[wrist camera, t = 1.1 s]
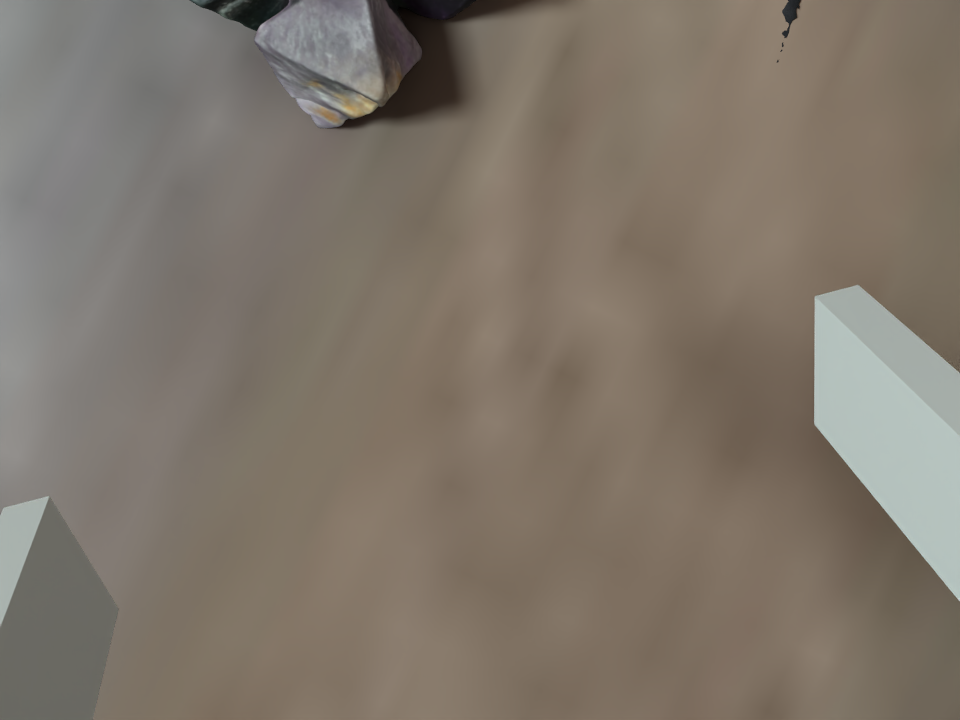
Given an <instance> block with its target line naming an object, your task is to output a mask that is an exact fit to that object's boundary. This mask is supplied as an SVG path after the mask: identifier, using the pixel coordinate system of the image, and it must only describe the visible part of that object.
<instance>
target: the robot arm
mask: <svg viewBox="0 0 960 720" xmlns="http://www.w3.org/2000/svg"><path fill="white" fill-rule="evenodd" d="M814 424H815V426H816V427H817V428H818V429H819V430H820V432H821V433H822V434H823V435H824V437H825V438H826V439H827V440H828V441H829V443H830V444H831V445H832V446H833V448H834V449H835V450H836V451H837V452H838V454H839V455H840V456H841V457H842V459H843V460H844V461H845V462H846V463H847V465H848V466H849V467H850V468H851V469H852V471H853V472H854V473H855V474H856V476H857V477H858V478H859V479H860V480H861V482H862V483H863V484H864V485H865V487H866V488H867V489H868V490H869V491H870V493H871V494H872V495H873V496H874V498H875V499H876V500H877V501H878V502H879V504H880V505H881V506H882V507H883V508H884V510H885V511H886V512H887V513H888V515H889V516H890V517H891V518H892V519H893V521H894V522H895V523H896V524H897V526H898V527H899V528H900V529H901V530H902V532H903V533H904V534H905V535H906V536H907V538H908V539H909V540H910V541H911V543H912V544H913V545H914V546H915V547H916V549H917V550H918V551H919V552H920V554H921V555H922V556H923V557H924V558H925V560H926V561H927V562H928V563H929V565H930V566H931V567H932V568H933V569H934V571H935V572H936V573H937V574H938V575H939V577H940V578H941V579H942V580H943V582H944V583H945V584H946V585H947V586H948V588H949V589H950V590H951V591H952V593H953V594H954V595H955V596H956V597H957V599H958V600H959V601H960V373H959V372H958V371H957V370H956V369H954V368H953V367H952V366H951V365H950V364H949V363H948V362H946V361H945V360H944V359H943V358H942V357H941V356H939V355H938V354H937V353H936V352H935V351H934V350H933V349H931V348H930V347H929V346H928V345H927V344H926V343H925V342H923V341H922V340H921V339H920V338H919V337H918V336H916V335H915V334H914V333H913V332H912V331H911V330H910V329H908V328H907V327H906V326H905V325H904V324H903V323H901V322H900V321H899V320H898V319H897V318H896V317H895V316H893V315H892V314H891V313H890V312H889V311H888V310H886V309H885V308H884V307H883V306H882V305H881V304H880V303H878V302H877V301H876V300H875V299H874V298H873V297H872V296H870V295H869V294H868V293H867V292H866V291H865V290H863V289H862V288H861V287H860V286H859V285H856V286H852V287H849V288H845V289H841V290H837V291H833V292H829V293H826V294H822V295H818V296H815V383H814ZM118 610H119V608H118V607H117V605H116V604H115V602H114V600H113V599H112V597H111V595H110V594H109V592H108V591H107V589H106V587H105V586H104V584H103V582H102V581H101V579H100V577H99V576H98V574H97V573H96V571H95V569H94V568H93V566H92V564H91V563H90V561H89V560H88V558H87V556H86V555H85V553H84V551H83V550H82V548H81V546H80V545H79V543H78V542H77V540H76V538H75V537H74V535H73V533H72V532H71V530H70V529H69V527H68V525H67V524H66V522H65V520H64V519H63V517H62V515H61V514H60V512H59V511H58V509H57V507H56V506H55V504H54V502H53V501H52V499H51V498H50V496H48V497H44V498H40V499H36V500H32V501H28V502H25V503H21V504H17V505H13V506H9V507H5V508H3V511H2V513H1V515H0V720H93V716H94V712H95V707H96V703H97V699H98V695H99V690H100V686H101V682H102V678H103V673H104V669H105V665H106V661H107V656H108V652H109V648H110V644H111V639H112V635H113V631H114V627H115V623H116V618H117V614H118Z"/></svg>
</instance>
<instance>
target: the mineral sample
mask: <svg viewBox="0 0 960 720" xmlns="http://www.w3.org/2000/svg"><path fill="white" fill-rule="evenodd" d="M190 1H192V2H193V3H195V4H196V5H198V6H200V7H202V8H206V9H209V10H212V11H214V12H216V13H218V14H220V15H221V16H223V17H224V18H227V19H230V20H234V21H237V22H240V23H242V24H243V25H244V26H246V27H248V28H251V29H253V30H255V31H257V33H256V35H255V37H254V41H255V43H256V45H257V46H258V48H259V49H260V51H261V52H262V53H263V55H264V56H265V58H266V60H267V61H268V63H269V65H270V66H271V68H272V69H273V70H274V73H275V75H276V76H277V78H278V80H279V82H280V83H281V85H282V86H283V87H284V88H285V89H286V90H287V92H288V93H289V94H290V95H291V96H292V97H293V98H295V99H296V101H297V103H298V105H299V107H300V108H301V109H302V110H304V111H305V112H306V113H307V114H309V115H311V117H312V119H313V121H314V122H315V124H316V126H317V127H319V128H333V127H338V126H341V125H343V124H344V122H345V120H347V119H349V118H350V119H355V118H359V117H362V116H364V115H366V114H370V113H372V112H373V111H374V110H375V109H376V108H377V107H378V106H379V107H382V106H384V105H385V104H386V102H387V101H388V99H389V98H390V97H391V96H392V95H393V94H394V93H395V92H396V91H397V90H398V87H399V84H400V81H401V80H402V79H403V77H404V76H405V75H406V74H407V73H408V72H409V71H410V70H411V68H412V67H413V65H415V64H416V63H417V62H418V61H419V60H420V59H421V56H422V49H421V47H420V46H419V44H418V42H417V40H416V39H415V37H414V36H413V35H412V34H411V33H410V32H409V31H408V30H407V28H406V26H405V24H404V22H403V21H402V19H401V17H400V15H399V13H398V12H397V10H398V8H399V7H404V8H408V9H409V10H411V11H413V12H415V13H417V14H419V15H421V16H424V17H428V18H434V19H440V20H445V19H449V18H452V17H454V16H455V15H456V14H457V13H459V12H461V11H462V10H463V9H464V8H466V7H468V6H470V5H471V4H472V3H473V2H475V1H476V0H190ZM788 1H789V2H788V3H787V5H786V6H785V8H784V9H783V11H782V13H783V14H784V16H785V19H786V22H788V23H789V27H788V29H787V31H784V32H783V33H782V34H783V35H784V36H785V37H784V38H786V37H787V35H788V33H789V28H790V24H791V22H792V20H794V19H795V18H796V17H797V16H796V8H797V7H798V9H799V5H798V4H799V2H800V0H788ZM782 47H783V43H782ZM781 51H782V49H781ZM777 62H778V61H777Z"/></svg>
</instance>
